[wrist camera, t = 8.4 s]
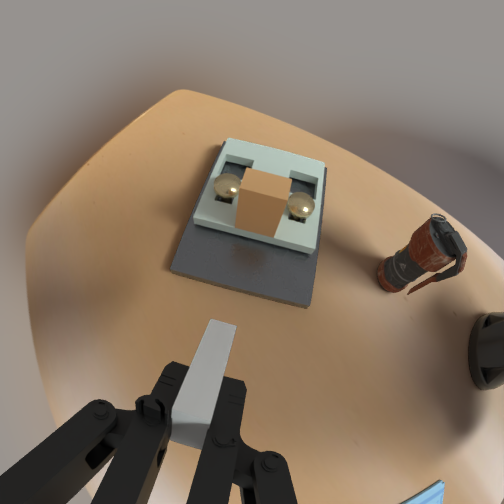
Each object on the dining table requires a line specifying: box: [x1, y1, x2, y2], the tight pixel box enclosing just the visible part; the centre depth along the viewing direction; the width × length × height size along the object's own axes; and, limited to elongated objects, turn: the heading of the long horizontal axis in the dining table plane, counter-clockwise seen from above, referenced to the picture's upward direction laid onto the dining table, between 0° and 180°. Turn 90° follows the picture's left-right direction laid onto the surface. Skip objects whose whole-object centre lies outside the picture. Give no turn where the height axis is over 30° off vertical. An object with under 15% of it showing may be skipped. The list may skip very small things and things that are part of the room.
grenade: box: [378, 214, 467, 295], centre depth 31 cm, size 6×8×15 cm
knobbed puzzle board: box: [193, 138, 325, 254], centre depth 35 cm, size 16×16×10 cm
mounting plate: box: [170, 141, 327, 309], centre depth 37 cm, size 18×24×5 cm
